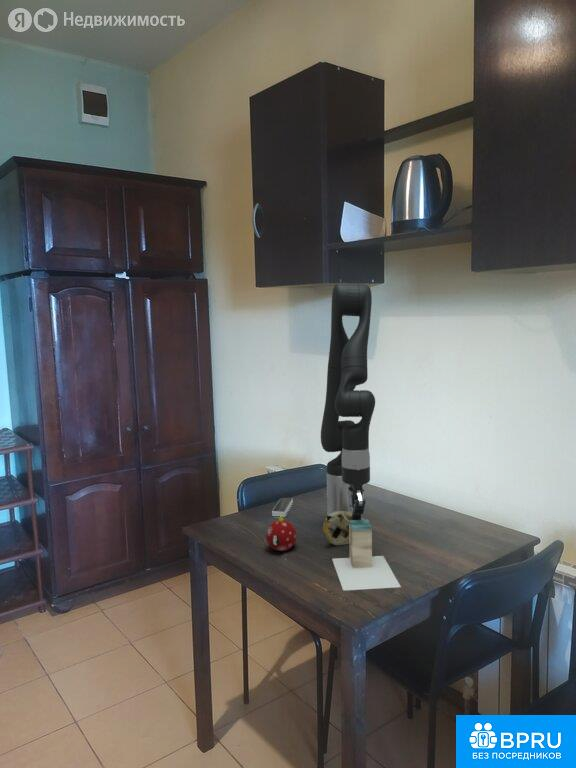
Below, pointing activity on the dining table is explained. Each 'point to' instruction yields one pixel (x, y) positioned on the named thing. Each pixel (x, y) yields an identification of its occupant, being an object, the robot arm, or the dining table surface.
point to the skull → (338, 527)
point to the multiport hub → (282, 507)
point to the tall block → (360, 543)
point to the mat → (365, 575)
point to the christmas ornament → (281, 535)
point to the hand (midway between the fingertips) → (356, 526)
